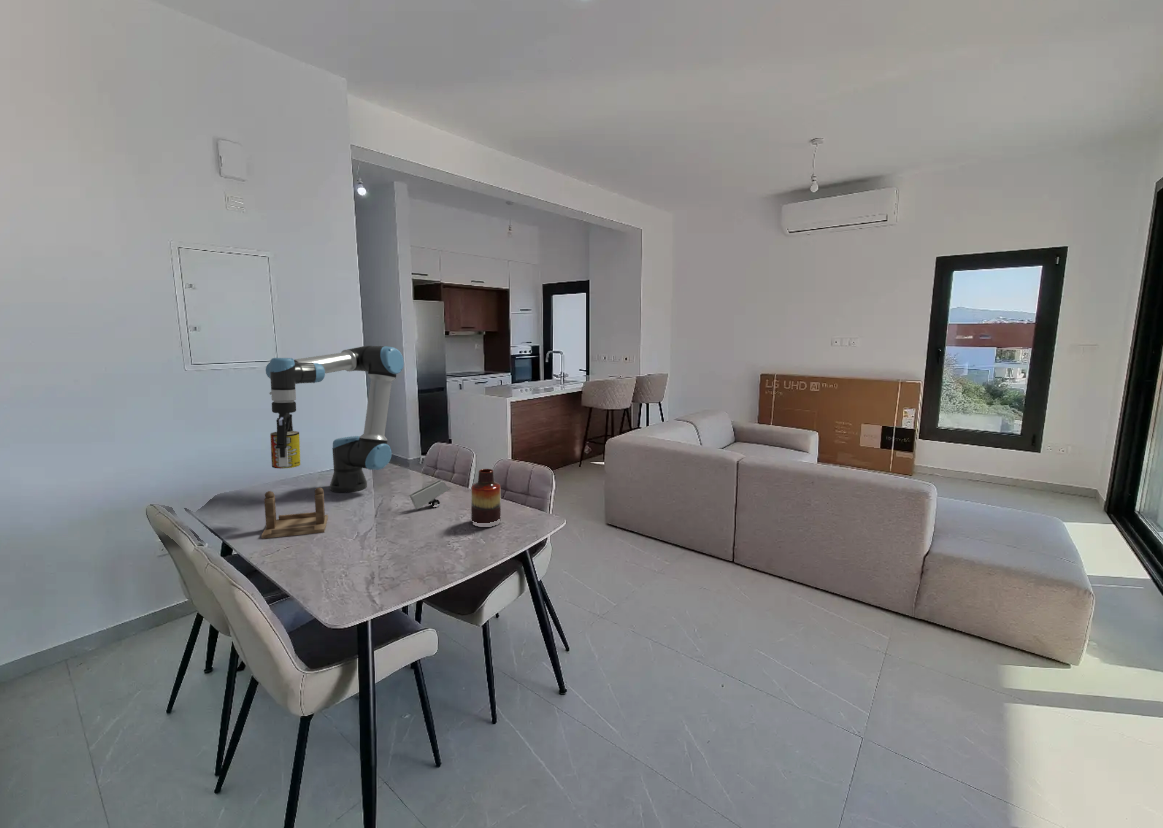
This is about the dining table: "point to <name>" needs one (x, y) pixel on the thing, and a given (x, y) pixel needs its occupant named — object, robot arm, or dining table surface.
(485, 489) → the vase
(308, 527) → the knobbed wooden cradle
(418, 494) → the grey toy trailer
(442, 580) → the dining table surface
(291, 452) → the beverage can
